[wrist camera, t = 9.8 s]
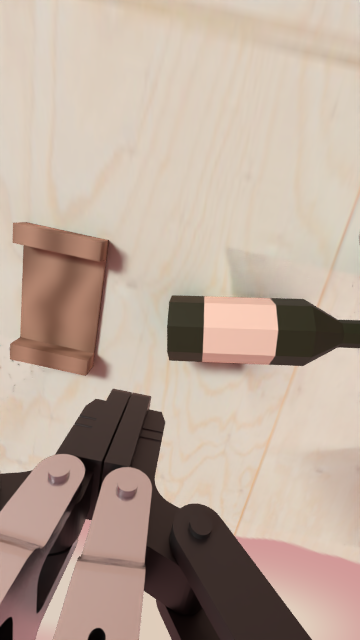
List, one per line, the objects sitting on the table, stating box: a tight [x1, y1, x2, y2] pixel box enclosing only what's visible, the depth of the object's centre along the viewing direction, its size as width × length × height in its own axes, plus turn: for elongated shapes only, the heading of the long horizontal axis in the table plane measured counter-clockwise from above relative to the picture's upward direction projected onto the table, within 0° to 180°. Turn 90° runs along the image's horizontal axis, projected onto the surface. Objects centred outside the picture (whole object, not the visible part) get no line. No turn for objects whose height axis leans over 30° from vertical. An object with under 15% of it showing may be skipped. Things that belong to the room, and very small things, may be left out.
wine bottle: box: [167, 296, 360, 366], centre depth 38 cm, size 8×8×30 cm
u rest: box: [10, 222, 109, 376], centre depth 42 cm, size 11×19×3 cm, turn 168°
